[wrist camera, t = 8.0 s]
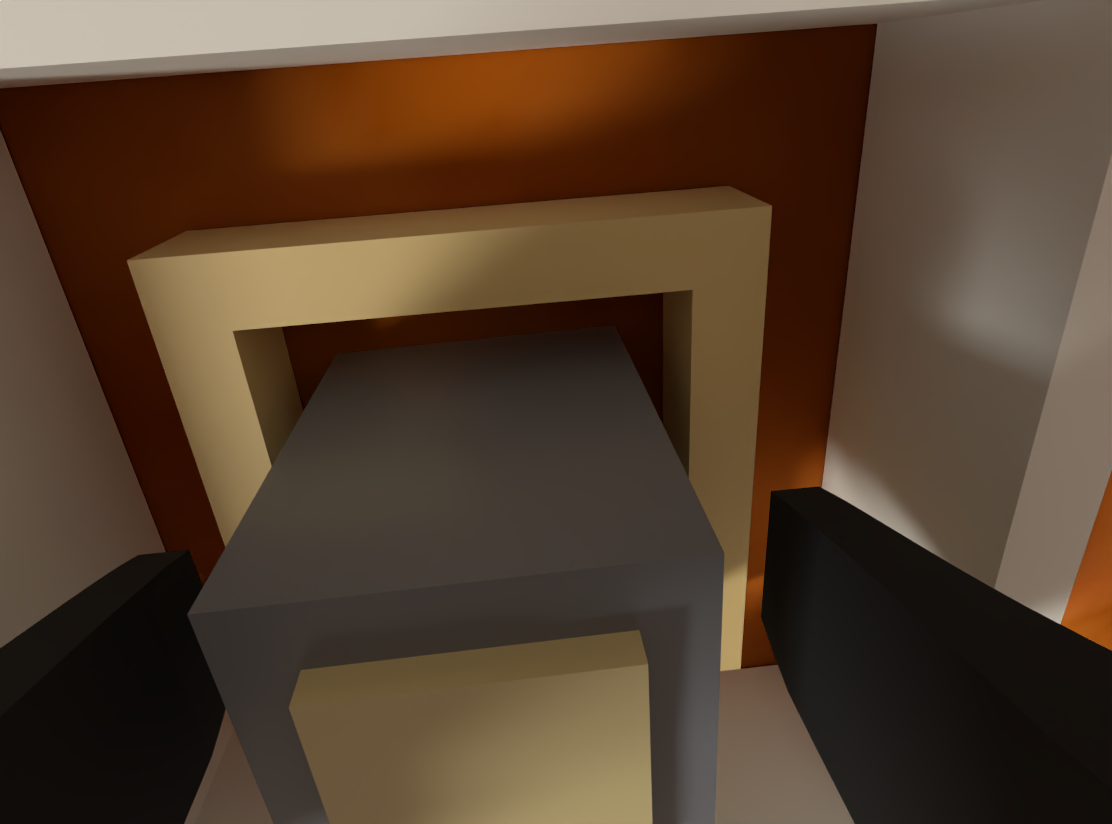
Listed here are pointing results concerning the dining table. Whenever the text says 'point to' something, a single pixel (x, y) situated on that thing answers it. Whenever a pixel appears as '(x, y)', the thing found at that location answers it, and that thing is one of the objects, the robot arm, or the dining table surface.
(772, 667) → the cream square frame
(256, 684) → the block
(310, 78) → the dining table surface
